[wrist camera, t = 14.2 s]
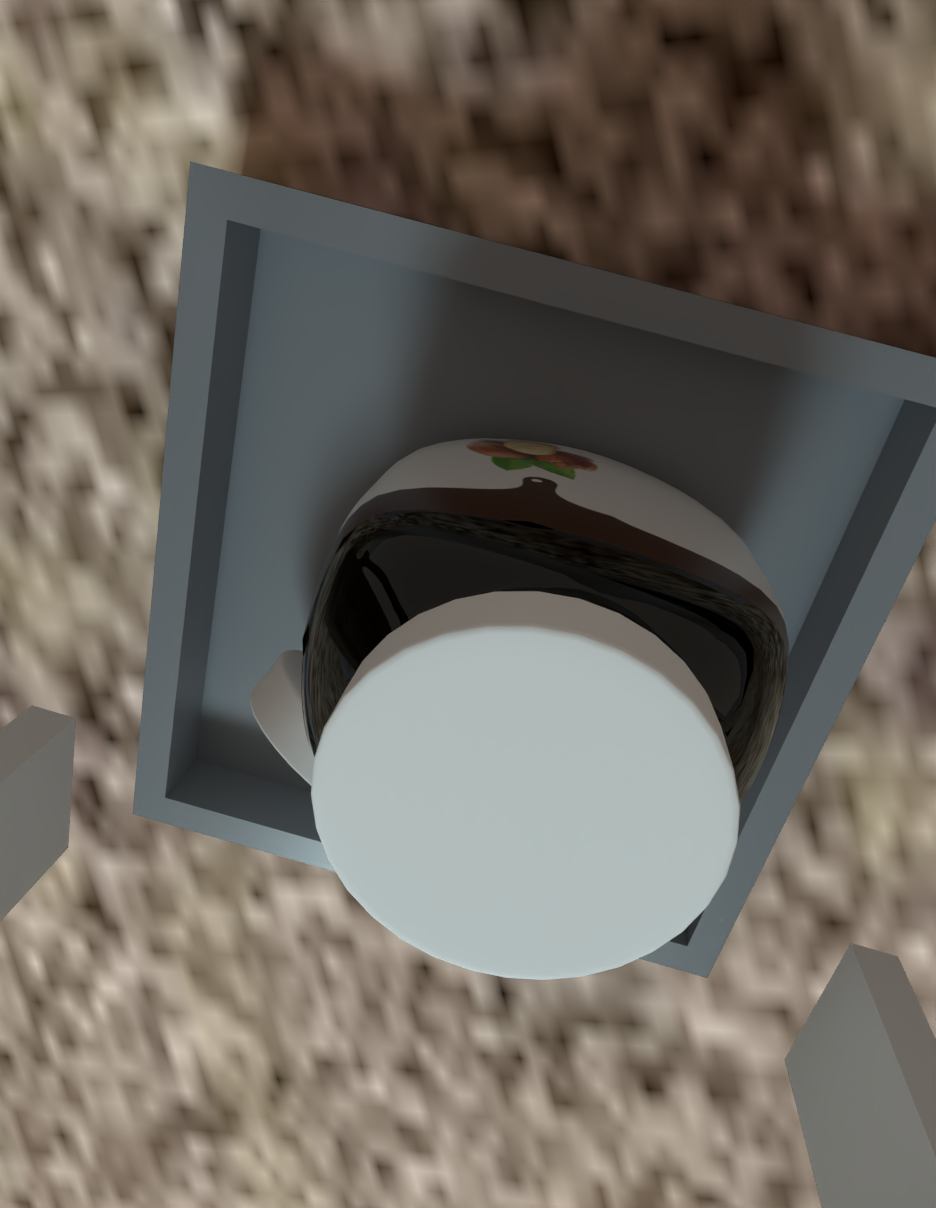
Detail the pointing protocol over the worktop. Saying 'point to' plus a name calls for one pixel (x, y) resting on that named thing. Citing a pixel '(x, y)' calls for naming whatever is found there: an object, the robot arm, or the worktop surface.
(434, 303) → the tray
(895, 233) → the worktop surface
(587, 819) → the spread jar
